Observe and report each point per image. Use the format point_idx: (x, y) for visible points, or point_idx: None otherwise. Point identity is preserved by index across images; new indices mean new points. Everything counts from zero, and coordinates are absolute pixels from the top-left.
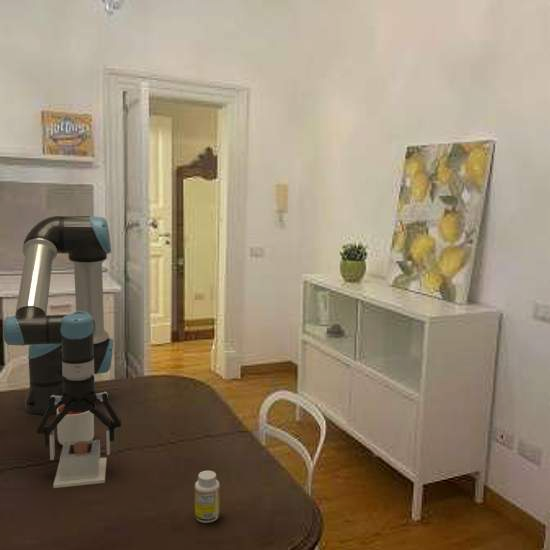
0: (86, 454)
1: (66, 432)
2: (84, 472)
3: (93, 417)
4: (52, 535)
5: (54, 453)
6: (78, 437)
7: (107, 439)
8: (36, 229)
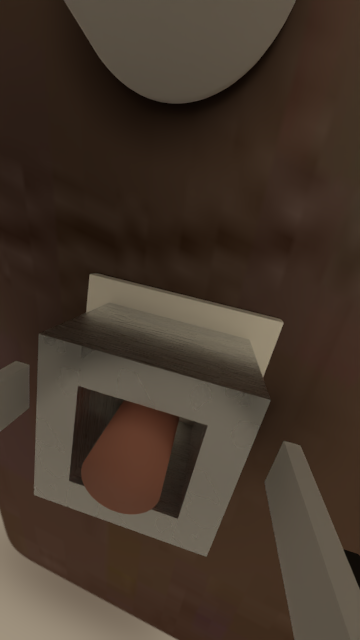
0: (153, 525)
1: (78, 7)
2: None
3: None
4: (86, 571)
5: (18, 382)
6: (177, 70)
7: (296, 610)
8: None
